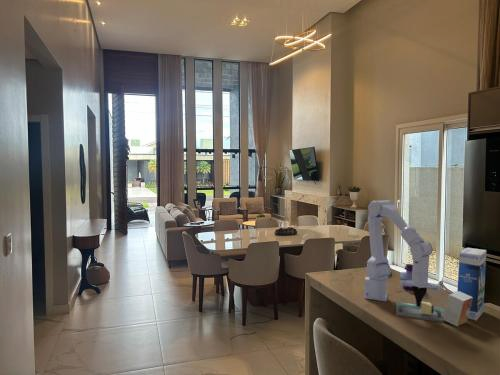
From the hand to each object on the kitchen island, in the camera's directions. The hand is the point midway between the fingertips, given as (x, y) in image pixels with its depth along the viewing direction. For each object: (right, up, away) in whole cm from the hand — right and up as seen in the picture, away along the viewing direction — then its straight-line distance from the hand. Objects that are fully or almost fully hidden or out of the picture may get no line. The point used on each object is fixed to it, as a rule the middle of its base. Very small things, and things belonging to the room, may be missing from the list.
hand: (418, 305), depth 145 cm
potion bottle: (+10, -2, +32) cm, 33 cm away
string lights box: (+22, -4, +2) cm, 22 cm away
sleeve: (+2, -3, -1) cm, 4 cm away
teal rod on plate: (0, -4, 0) cm, 4 cm away
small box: (+11, -4, -6) cm, 13 cm away
